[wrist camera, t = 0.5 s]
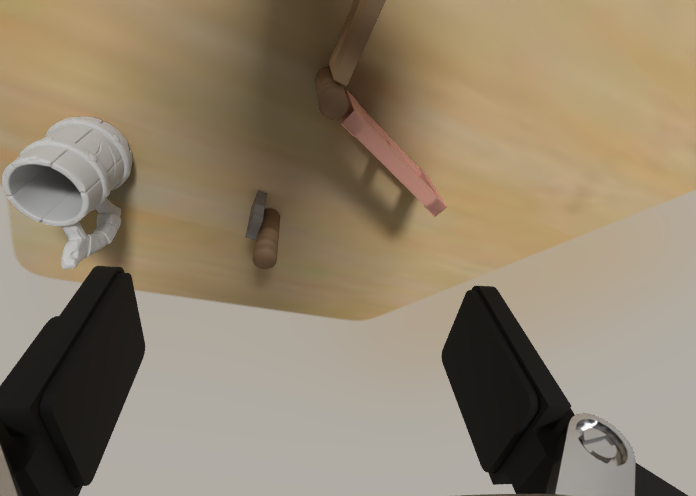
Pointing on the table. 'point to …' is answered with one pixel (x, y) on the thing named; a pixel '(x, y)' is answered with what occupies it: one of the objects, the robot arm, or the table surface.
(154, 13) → the table surface
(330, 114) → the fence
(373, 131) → the gate
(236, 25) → the table surface
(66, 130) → the mug
